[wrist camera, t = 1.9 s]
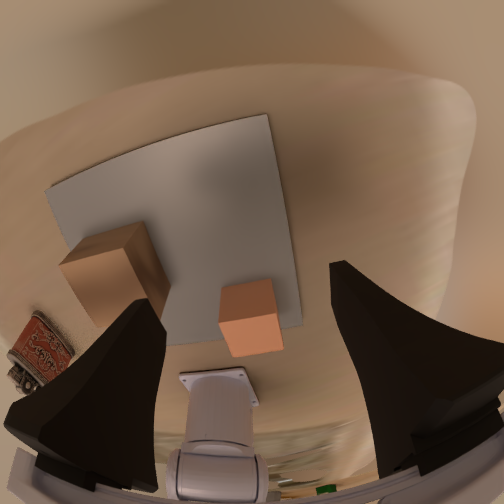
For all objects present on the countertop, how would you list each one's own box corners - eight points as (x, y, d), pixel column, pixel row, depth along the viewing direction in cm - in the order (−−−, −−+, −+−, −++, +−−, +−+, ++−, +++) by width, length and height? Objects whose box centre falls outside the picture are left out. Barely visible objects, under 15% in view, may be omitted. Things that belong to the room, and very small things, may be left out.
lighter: (29, 312, 25) (-7, 370, 16) (42, 308, 24) (4, 371, 16) (65, 355, 29) (40, 413, 20) (80, 354, 28) (54, 416, 20)
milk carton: (322, 488, 90) (326, 520, 72) (313, 488, 86) (317, 522, 69) (338, 483, 87) (343, 516, 70) (329, 484, 83) (335, 518, 66)
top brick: (278, 314, 23) (283, 349, 20) (233, 322, 24) (233, 357, 20) (270, 278, 21) (276, 313, 18) (221, 287, 22) (218, 323, 18)
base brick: (171, 286, 21) (160, 320, 18) (113, 296, 22) (97, 327, 18) (143, 220, 18) (123, 247, 15) (82, 238, 19) (58, 265, 15)
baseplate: (301, 317, 25) (303, 325, 24) (132, 341, 26) (130, 348, 26) (265, 113, 16) (266, 114, 15) (50, 187, 17) (44, 191, 17)
